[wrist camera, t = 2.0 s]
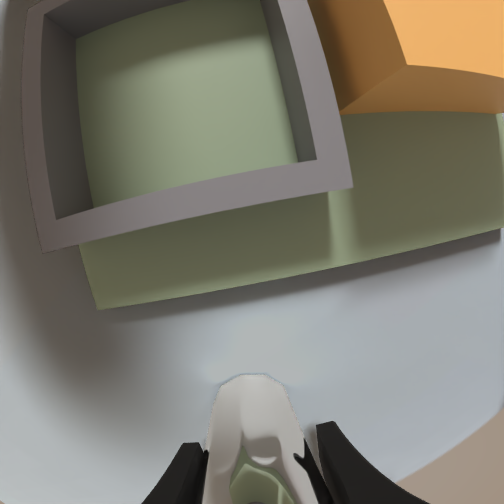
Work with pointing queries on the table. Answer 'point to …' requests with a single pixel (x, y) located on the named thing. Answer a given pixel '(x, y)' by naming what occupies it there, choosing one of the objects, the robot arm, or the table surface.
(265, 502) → the milkshake
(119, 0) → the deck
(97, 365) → the table surface
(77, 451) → the table surface
